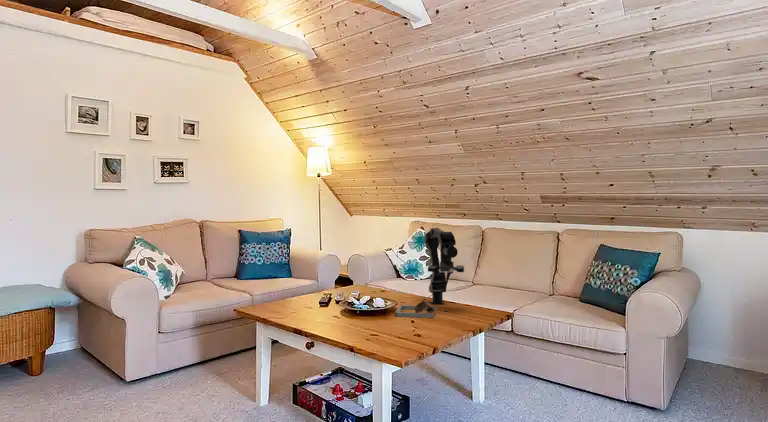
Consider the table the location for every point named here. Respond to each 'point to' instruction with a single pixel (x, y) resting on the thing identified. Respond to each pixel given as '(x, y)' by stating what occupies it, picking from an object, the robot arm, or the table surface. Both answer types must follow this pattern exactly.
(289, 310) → the table surface
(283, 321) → the table surface
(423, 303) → the brown arched figure
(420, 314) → the grey u-shaped frame
